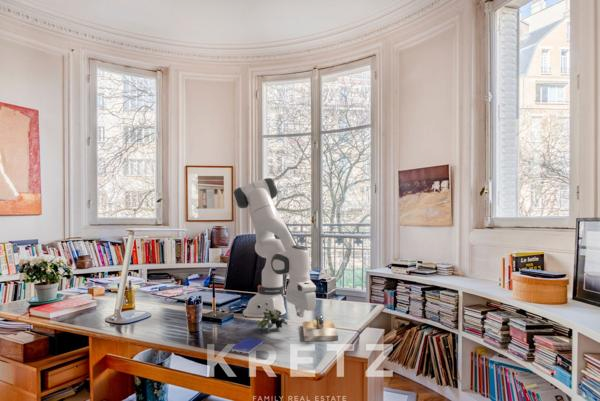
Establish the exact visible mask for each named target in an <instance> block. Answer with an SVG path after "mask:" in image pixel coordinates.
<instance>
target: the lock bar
mask: <svg viewBox="0 0 600 401" xmlns="http://www.w3.org/2000/svg"><path fill="white" fill-rule="evenodd" d="M315 320H318V324H319V328H323V321H324V316H323V315H322V314H316V315H315Z"/></svg>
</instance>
